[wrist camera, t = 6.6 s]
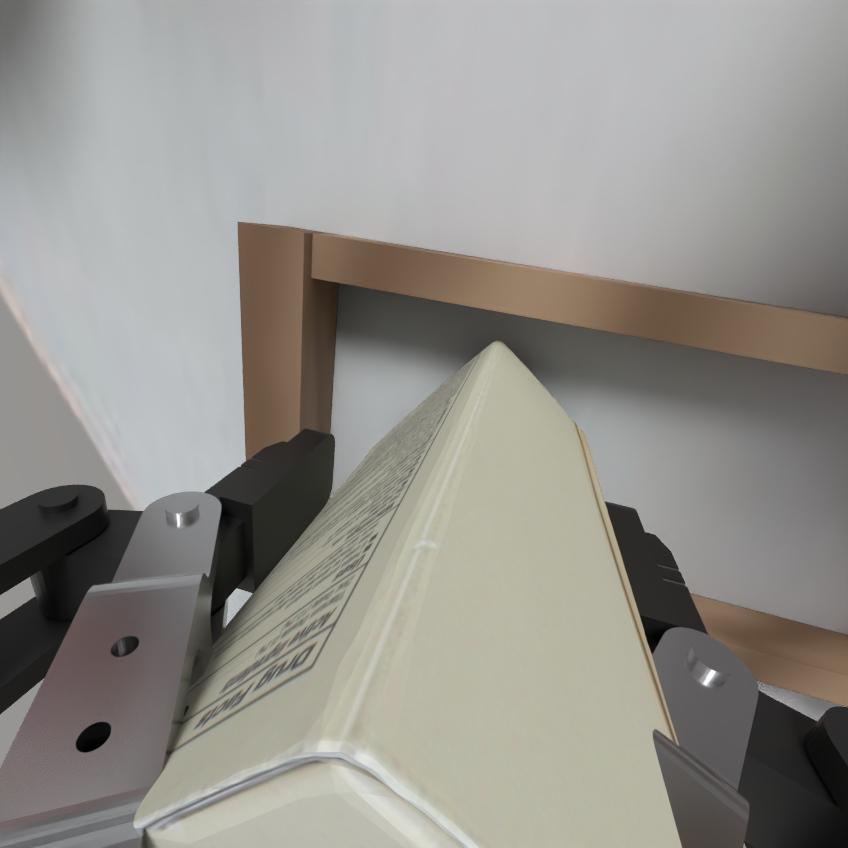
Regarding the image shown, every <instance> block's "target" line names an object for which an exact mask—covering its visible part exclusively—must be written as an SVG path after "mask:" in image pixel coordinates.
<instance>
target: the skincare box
mask: <svg viewBox="0 0 848 848" xmlns="http://www.w3.org/2000/svg"><path fill="white" fill-rule="evenodd" d="M187 705H188V706H189V708H188V710H187V712H186V714H185V716H184V718H183V724H182V726H181V729H180V731H179V733H178V736H177V738H176V740H175V743H174V745H173V748H172V750H171V752H170V755H169V757H168V759H167V762H166V764H165V766H164V769H163V771H162V774H161V775H160V777H159V778H158V779H157V781H156V782H155V783H154V785H153V786H152V788H151V789H150V790H149V792H148V793H147V795H146V796H145V798H144V799H143V801H142V803H141V804H140V806H139V808H138V810H137V812H136V815H135V818H134V822H133V824H134V827H135V828H144V830H145V835H146V842H147V848H682V846H681V842H680V838H679V835H678V831H677V827H676V824H675V820H674V816H673V813H672V809H671V805H670V802H669V798H668V794H667V791H666V787H665V783H664V780H663V776H662V772H661V769H660V765H659V761H658V757H657V754H656V750H655V746H654V741H653V730H654V729H657V730H659V731H660V732H662V733H663V734H664V735H665V736H667V737H668V738H669V739H671V740H672V741H673V742H674V743H676V744H677V745H678V746H679V744H678V740H677V737H676V734H675V731H674V727H673V724H672V721H671V718H670V714H669V711H668V708H667V705H666V701H665V698H664V695H663V691H662V688H661V685H660V681H659V678H658V675H657V671H656V668H655V664H654V661H653V658H652V654H651V651H650V648H649V645H648V643H647V640H646V636H645V632H644V629H643V625H642V622H641V618H640V615H639V612H638V609H637V605H636V602H635V599H634V596H633V593H632V589H631V586H630V583H629V580H628V576H627V573H626V570H625V567H624V563H623V560H622V557H621V553H620V550H619V547H618V543H617V540H616V537H615V534H614V530H613V527H612V524H611V521H610V518H609V515H608V510H607V507H606V505H605V501H604V498H603V494H602V491H601V488H600V484H599V481H598V478H597V475H596V471H595V468H594V465H593V461H592V458H591V454H590V451H589V447H588V444H587V440H586V437H585V435H584V433H583V431H582V430H581V429H580V428H579V427H578V426H577V425H576V423H575V422H574V421H573V420H572V419H571V417H570V416H569V415H568V414H567V413H566V412H565V410H564V409H563V408H562V407H561V406H560V404H559V403H558V402H557V401H556V400H555V399H554V398H553V396H552V395H551V394H550V393H549V392H548V391H547V390H546V389H545V387H544V386H543V385H542V384H541V383H540V382H539V381H538V380H537V378H536V377H535V376H534V375H533V374H532V373H531V372H530V371H529V369H528V368H527V367H526V366H525V365H524V364H523V363H522V362H521V361H520V360H519V359H518V357H517V356H516V355H515V354H514V353H513V352H512V351H511V350H510V349H509V348H508V347H507V346H506V344H505V343H503V342H502V341H500V340H497V341H494V342H492V343H491V344H489V345H488V346H487V347H486V348H485V349H484V350H482V351H481V352H480V353H479V354H478V355H476V356H475V357H474V358H473V359H472V360H470V361H469V362H468V363H467V364H466V365H465V366H463V367H462V368H461V369H460V370H459V371H458V372H456V373H455V374H454V375H453V376H452V377H451V378H449V379H448V380H447V381H446V382H445V383H444V384H443V385H441V386H440V387H439V388H438V389H437V390H436V391H435V392H433V393H432V394H431V395H430V396H429V397H428V398H427V399H426V400H424V401H423V402H422V403H421V404H420V405H419V406H418V407H417V408H415V409H414V410H413V411H412V412H411V413H410V414H409V415H408V416H407V417H405V418H404V419H403V420H402V421H401V422H400V423H399V424H398V425H397V426H396V427H395V428H393V429H392V430H391V431H390V432H389V433H388V434H387V435H386V436H385V437H384V438H383V439H382V440H381V441H380V442H379V443H378V444H377V445H375V446H374V447H373V449H372V450H371V451H370V452H369V453H368V455H367V456H366V457H365V459H364V460H363V461H362V462H361V463H360V465H359V466H358V467H357V468H356V470H355V471H354V472H353V473H352V474H351V475H350V477H349V478H348V479H347V480H346V482H345V483H344V484H343V485H342V486H341V488H340V489H339V490H338V491H337V492H336V494H335V495H334V496H333V497H332V498H331V500H330V501H329V502H328V503H327V504H326V506H325V507H324V508H323V509H322V511H321V512H320V513H319V514H318V515H317V517H316V518H315V519H314V520H313V522H312V523H311V524H310V525H309V526H308V528H307V529H306V530H305V531H304V533H303V534H302V535H301V536H300V538H299V539H298V540H297V541H296V542H295V544H294V545H293V546H292V547H291V548H290V550H289V551H288V552H287V553H286V555H285V556H284V557H283V558H282V559H281V561H280V562H279V563H278V564H277V565H276V567H275V568H274V569H273V570H272V571H271V573H270V574H269V575H268V576H267V578H266V579H265V580H264V581H263V582H262V584H261V585H260V586H259V587H258V588H257V590H256V591H255V592H254V593H253V594H252V596H251V597H250V598H249V599H248V601H247V602H246V603H245V604H244V605H243V607H242V608H241V609H240V610H239V611H238V613H237V614H236V615H235V616H234V618H233V619H232V620H231V621H230V622H229V624H228V625H227V626H226V627H225V628H224V630H223V632H222V634H221V636H220V637H219V638H218V639H217V641H216V642H215V643H214V644H213V654H212V657H211V659H210V661H209V664H208V666H207V668H206V670H205V673H204V675H202V676H201V677H200V678H199V679H198V680H197V681H196V682H195V683H194V684H193V685H192V686H191V687H190V688H189V691H188V696H187V702H186V706H187Z"/></svg>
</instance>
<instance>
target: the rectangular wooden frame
mask: <svg viewBox="0 0 848 848" xmlns="http://www.w3.org/2000/svg"><path fill="white" fill-rule="evenodd" d="M238 245H239V274H240V303H241V332H242V360H243V389H244V418H245V447H246V461H247V460H248V459H252V457H253V456H254V455H255V454H257V453H258V452H259V451H261V450H262V449H263V448H265V447H267V446H270V445H273V444H276V443H279V442H281V441H284V442H288V441H290V440H291V439H292V438H293V437H295V436H296V435H297V434H298V433H300V432H301V431H302V430H304V429H311V430H315V431H319V432H324V433H328V434H330V425H331V408H332V390H333V372H334V355H335V337H336V320H337V302H338V284H339V283H342V284H348V285H354V286H359V287H365V288H370V289H376V290H381V291H387V292H392V293H398V294H403V295H409V296H414V297H420V298H425V299H431V300H436V301H442V302H448V303H453V304H459V305H464V306H470V307H475V308H481V309H486V310H492V311H497V312H503V313H508V314H514V315H519V316H525V317H530V318H536V319H541V320H547V321H553V322H558V323H564V324H569V325H575V326H580V327H586V328H591V329H597V330H602V331H608V332H613V333H619V334H624V335H630V336H635V337H641V338H647V339H652V340H658V341H663V342H669V343H674V344H680V345H685V346H691V347H696V348H702V349H707V350H713V351H718V352H724V353H729V354H735V355H740V356H746V357H752V358H757V359H763V360H768V361H774V362H779V363H785V364H790V365H796V366H801V367H807V368H812V369H818V370H823V371H829V372H834V373H840V374H846V375H848V318H847V317H841V316H835V315H829V314H823V313H816V312H810V311H804V310H798V309H792V308H786V307H779V306H773V305H767V304H761V303H755V302H749V301H743V300H736V299H730V298H724V297H718V296H712V295H706V294H700V293H693V292H687V291H681V290H675V289H669V288H663V287H657V286H650V285H644V284H638V283H632V282H626V281H620V280H613V279H607V278H601V277H595V276H589V275H583V274H577V273H570V272H564V271H558V270H552V269H546V268H540V267H534V266H527V265H521V264H515V263H509V262H503V261H497V260H490V259H484V258H478V257H472V256H466V255H460V254H454V253H447V252H441V251H435V250H429V249H423V248H417V247H411V246H404V245H398V244H392V243H386V242H380V241H374V240H368V239H361V238H355V237H349V236H343V235H337V234H331V233H324V232H318V231H312V230H306V229H300V228H294V227H288V226H279V225H268V224H256V223H245V222H238ZM330 500H331V499H328V501H327V503H328V502H329V501H330ZM327 503H326V504H327ZM325 506H326V505H325ZM690 595H691V597H692V599H693V601H694V604H695V606H696V608H697V610H698V613H699V615H700V617H701V619H702V621H703V624H704V626H705V628H706V630H707V632H708V635H709V636H711V637H713V638H715V639H716V640H718V641H719V642H721V643H722V644H724V645H725V646H727V647H728V648H729V649H730V650H732V651H733V652H734V653H735V654H736V655H737V656H738V657H739V658H740V659H741V660H742V661H743V662H744V663H745V664H746V666H747V667H748V668H749V669H750V671H751V672H752V674H753V676H754V678H755V680H757V681H760V682H764V683H767V684H771V685H774V686H778V687H781V688H785V689H788V690H792V691H795V692H799V693H802V694H806V695H809V696H813V697H816V698H820V699H823V700H827V701H830V702H834V703H837V704H840V705H844V706H847V707H848V635H845V634H841V633H837V632H833V631H830V630H826V629H822V628H818V627H814V626H811V625H807V624H803V623H799V622H795V621H792V620H788V619H784V618H780V617H776V616H773V615H769V614H765V613H761V612H758V611H754V610H750V609H746V608H742V607H739V606H735V605H731V604H727V603H723V602H720V601H716V600H712V599H708V598H704V597H701V596H697V595H693V594H690Z"/></svg>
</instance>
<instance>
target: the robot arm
mask: <svg viewBox="0 0 848 848" xmlns="http://www.w3.org/2000/svg"><path fill="white" fill-rule="evenodd" d="M334 451H335V439H334V436H333V435H332V434H328V433H324V432H319V431H315V430H311V429H304V430H302V431H301V432H300V433H298V434H297V435H296V436H295V437H293V438H292V439H291V440H290V441H288V442H284V441H281V442H279V443H276V444H273V445H270V446H267V447H265V448H263V449H262V450H261V451H259V452H258V453H257V454H255V455H254V456H253V457H252V459H248V460H247V461H246V462H244V463H243V464H242V465H241V467H238V468H236V469H235V470H234V471H232V472H231V473H230V474H228V475H227V476H226V477H224V478H223V479H222V480H220V481H219V482H218V483H216V484H215V485H214V486H212V487H211V488H210V489H208V490H207V491H206V492H204V493H203V492H181V493H175V494H171V495H168V496H165V497H163V498H160V499H158V500H156V501H155V502H153V503H151V504H150V505H149V506H148V507H147V508H146V509H145V510H144V511H126V510H125V511H124V510H107V506H106V500H105V496H104V493H103V492H102V491H101V490H100V489H98V488H96V487H93V486H88V485H67V486H59V487H54V488H50V489H46V490H43V491H40V492H38V493H35V494H33V495H31V496H28V497H26V498H24V499H22V500H20V501H18V502H15V503H13V504H11V505H9V506H7V507H5V508H3V509H0V595H1V594H3V593H4V592H6V591H8V590H9V589H11V588H12V587H14V586H15V585H17V584H19V583H21V582H22V581H24V580H25V579H27V578H29V577H30V579H31V582H32V585H33V589H34V592H35V595H36V597H34V598H32V599H31V600H29V601H28V602H26V603H25V604H23V605H22V606H20V607H19V608H17V609H16V610H14V611H13V612H11V613H10V614H8V615H7V616H5V617H4V618H2V619H0V714H1V713H2V712H4V711H5V710H6V709H7V708H8V707H10V706H11V705H12V704H13V703H14V702H16V701H17V700H18V699H19V698H20V697H22V696H23V695H24V694H25V693H27V692H28V691H29V690H30V689H31V688H32V687H34V686H35V685H36V684H37V683H38V682H40V681H41V680H42V679H43V678H44V680H43V683H42V684H41V686H40V688H39V690H38V692H37V694H36V696H35V699H34V701H33V703H32V705H31V707H30V709H29V711H28V713H27V715H26V717H25V719H24V721H23V723H22V725H21V727H20V729H19V731H18V733H17V735H16V737H15V739H14V741H13V743H12V745H11V747H10V750H9V751H8V753H7V756H6V757H5V760H4V761H3V764H2V766H1V768H0V848H147V842H146V835H145V830H144V828H135V827H134V824H133V822H134V818H135V815H136V812H137V810H138V808H139V806H140V804H141V803H142V801H143V799H144V798H145V796H146V795H147V793H148V792H149V790H150V789H151V788H152V786H153V785H154V783H155V782H156V781H157V779H158V778H159V777H160V775H161V774H162V771H163V769H164V766H165V764H166V762H167V759H168V757H169V755H170V752H171V750H172V748H173V745H174V743H175V740H176V738H177V736H178V733H179V731H180V729H181V726H182V724H183V718H184V716H185V714H186V712H187V710H188V708H189V706H188V705H187V706H186V702H187V696H188V691H189V688H190V687H191V686H192V685H193V684H194V683H195V682H196V681H197V680H198V679H199V678H200V677H201V676H202V675H204V673H205V670H206V668H207V666H208V664H209V661H210V659H211V657H212V654H213V644H214V643H215V642H216V641H217V639H218V638H219V637H220V636H221V634H222V632H223V630H224V628H225V627H226V621H227V612H228V597H229V596H230V595H231V594H232V592H233V591H234V590H235V589H236V588H238V589H241V590H245V591H248V592H251V593H254V592H255V591H256V590H257V588H258V587H259V586H260V585H261V584H262V582H263V581H264V580H265V579H266V578H267V576H268V575H269V574H270V573H271V571H272V570H273V569H274V568H275V567H276V565H277V564H278V563H279V562H280V561H281V559H282V558H283V557H284V556H285V555H286V553H287V552H288V551H289V550H290V548H291V547H292V546H293V545H294V544H295V542H296V541H297V540H298V539H299V538H300V536H301V535H302V534H303V533H304V531H305V530H306V529H307V528H308V526H309V525H310V524H311V523H312V522H313V520H314V519H315V518H316V517H317V515H318V514H319V513H320V512H321V511H322V509H323V508H324V507H325V505H326V503H327V501H328V499H329V497H330V493H331V490H332V482H333V466H334ZM605 505H606V507H607V510H608V515H609V518H610V521H611V524H612V527H613V530H614V534H615V537H616V540H617V543H618V547H619V550H620V553H621V557H622V560H623V563H624V567H625V570H626V573H627V576H628V580H629V583H630V586H631V589H632V593H633V596H634V599H635V602H636V605H637V609H638V612H639V615H640V618H641V622H642V625H643V629H644V632H645V636H646V640H647V643H648V645H649V648H650V651H651V654H652V658H653V661H654V664H655V668H656V671H657V675H658V678H659V681H660V685H661V688H662V691H663V695H664V698H665V701H666V705H667V708H668V711H669V714H670V718H671V721H672V724H673V727H674V731H675V734H676V737H677V740H678V744H679V746H678V745H677V744H676V743H674V742H673V741H672V740H671V739H669V738H668V737H667V736H665V735H664V734H663V733H662V732H660V731H659V730H657V729H654V730H653V741H654V746H655V750H656V754H657V757H658V761H659V765H660V769H661V772H662V776H663V780H664V783H665V787H666V791H667V794H668V798H669V802H670V805H671V809H672V813H673V816H674V820H675V824H676V827H677V831H678V835H679V838H680V842H681V846H682V848H743V845H744V843H745V846H746V848H848V708H847V707H833V708H830V709H828V710H827V711H826V712H825V713H824V715H823V716H822V717H821V718H820V719H819V720H818V722H817V721H815V720H813V719H811V718H809V717H807V716H806V715H804V714H802V713H800V712H798V711H796V710H794V709H792V708H790V707H788V706H786V705H785V704H783V703H781V702H779V701H777V700H775V699H773V698H771V697H769V696H768V695H766V694H764V693H762V692H761V691H759V690H758V685H757V682H756V680H755V678H754V676H753V674H752V672H751V671H750V669H749V668H748V667H747V666H746V664H745V663H744V662H743V661H742V660H741V659H740V658H739V657H738V656H737V655H736V654H735V653H734V652H733V651H732V650H730V649H729V648H728V647H727V646H725V645H724V644H722V643H721V642H719V641H718V640H716V639H715V638H713V637H711V636H709V635H708V632H707V630H706V628H705V626H704V624H703V621H702V619H701V617H700V615H699V613H698V610H697V608H696V606H695V604H694V601H693V599H692V597H691V595H690V593H689V590H688V588H687V587H686V586H685V582H684V579H683V577H682V575H681V573H680V572H678V569H679V568H678V566H677V564H676V562H675V560H674V557H673V555H672V553H671V551H670V550H669V549H668V548H667V547H666V546H665V545H664V544H663V543H662V542H661V541H660V540H659V539H658V537H657V536H656V535H654V534H650V533H646V532H645V531H644V529H643V526H642V524H641V521H640V519H639V516H638V513H637V511H636V510H635V509H634V508H630V507H626V506H622V505H618V504H614V503H609V502H605Z"/></svg>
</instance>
